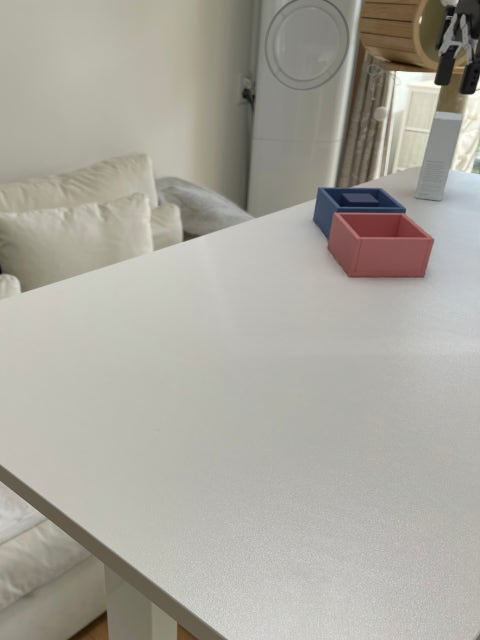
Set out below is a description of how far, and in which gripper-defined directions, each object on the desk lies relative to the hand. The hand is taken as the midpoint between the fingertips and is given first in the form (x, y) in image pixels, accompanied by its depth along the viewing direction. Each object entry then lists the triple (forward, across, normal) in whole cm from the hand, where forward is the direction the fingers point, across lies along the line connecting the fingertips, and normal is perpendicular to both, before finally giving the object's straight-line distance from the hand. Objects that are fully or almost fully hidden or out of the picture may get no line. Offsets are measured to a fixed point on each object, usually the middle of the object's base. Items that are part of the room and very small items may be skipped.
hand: (453, 89), depth 97 cm
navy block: (+15, -18, +18) cm, 29 cm away
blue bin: (+16, -18, +18) cm, 29 cm away
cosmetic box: (+16, 0, -1) cm, 16 cm away
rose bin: (+16, -29, +19) cm, 38 cm away
